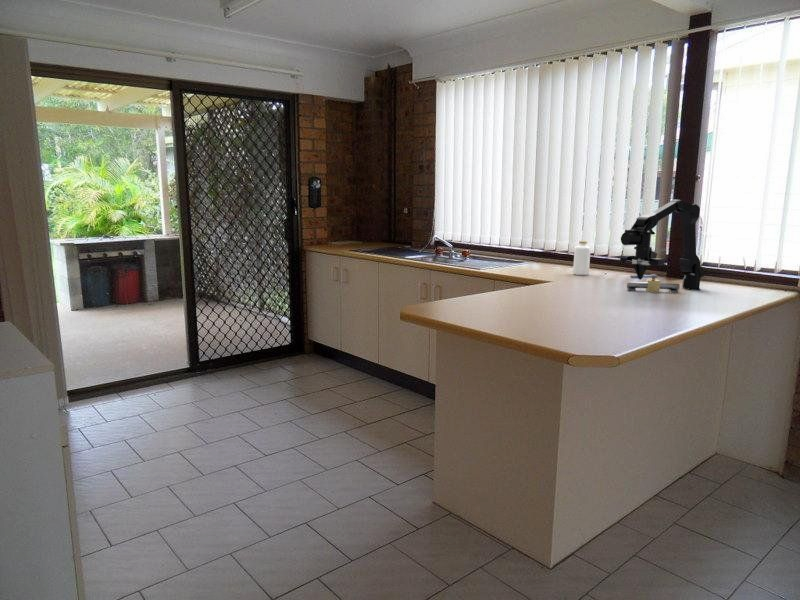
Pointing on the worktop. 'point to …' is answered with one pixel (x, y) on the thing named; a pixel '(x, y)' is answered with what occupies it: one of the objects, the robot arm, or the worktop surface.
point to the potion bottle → (581, 259)
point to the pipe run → (653, 286)
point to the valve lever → (644, 276)
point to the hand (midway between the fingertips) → (640, 279)
